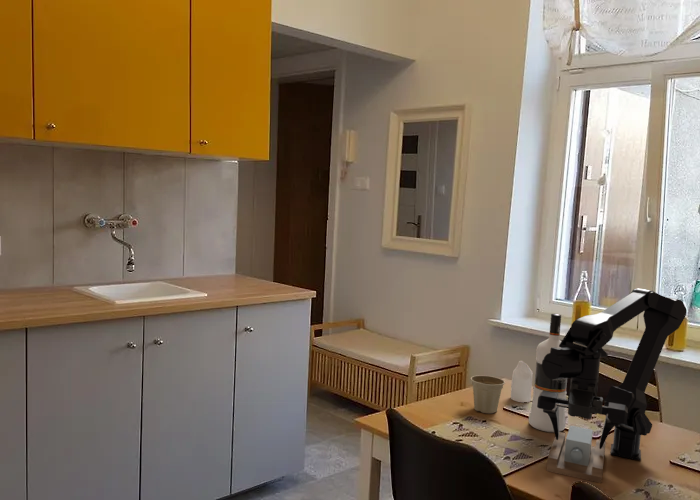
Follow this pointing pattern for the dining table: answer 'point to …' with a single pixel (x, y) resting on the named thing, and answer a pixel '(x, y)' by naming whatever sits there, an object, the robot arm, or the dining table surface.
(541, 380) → the vodka
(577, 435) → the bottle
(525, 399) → the white pointed cylinder
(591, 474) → the u rest
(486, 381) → the flower pot
